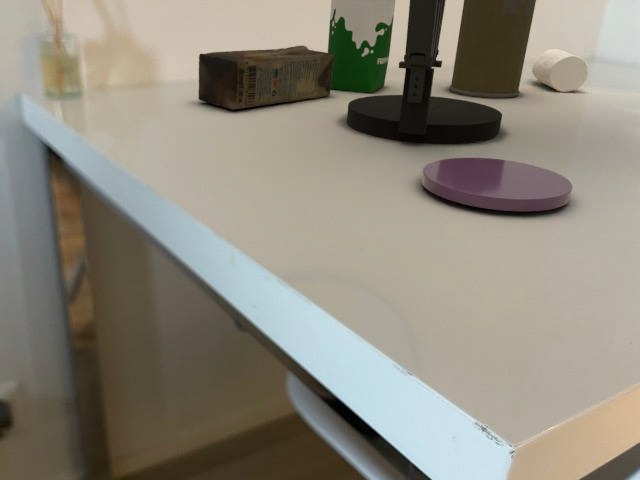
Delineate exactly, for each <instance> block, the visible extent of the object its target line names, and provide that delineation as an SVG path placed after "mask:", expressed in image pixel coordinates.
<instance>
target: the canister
mask: <svg viewBox="0 0 640 480" xmlns="http://www.w3.org/2000/svg"><path fill="white" fill-rule="evenodd" d="M536 2H537V0H463V5H462V12H461V19H460V26H459V31H458V39H457V45H456V51H455V57H454V65H453V72H452V77H451V85H449V87H448V89H449V91H450V92H452V93H454V94H458V95H463V96H467V97H477V98H488V99H510V98H514V97H518V96H519V95H520V94H521V93H520V90H519V89H520V84H521V79H522V74H523V69H524V64H525V59H526V53H527V48H528V44H529V38H530V35H531V34H530V33H531V28H532V23H533V18H534V13H535V8H536Z"/></svg>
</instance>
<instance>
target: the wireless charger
mask: <svg viewBox="0 0 640 480" xmlns="http://www.w3.org/2000/svg"><path fill="white" fill-rule="evenodd" d="M402 96H403V94H381V95H369V96H363V97H359V98H355V99H352V100H350V101H349V102H348V105H347V115H346V124H347V125H348V126H349V127H350V128H352V129H354V130H355V131H358V132H360V133H364V134H366V135H370V136H374V137H378V138H383V139H388V140H395V141H402V142H410V143H421V144H436V145H437V144H438V145H439V144H440V145H445V144H446V145H452V144H453V145H454V144H471V143H472V144H473V143H478V142H479V143H480V142H484V141H489V140H492V139H494V138H497V137H498V136H499V134H500V130H501V124H502V119H503V114H502V112H501V111H500V110H499V109H497V108H494V107H491V106H489V105H486V104H482V103H479V102H474V101H469V100H464V99H459V98H451V97H442V96H434V95H433V96H432V95H431V97H430V104H429V112H428V119H427V126H426V132H425V134H424V135H418V134H408V133H398V130H399V122H400V113H401V105H402Z"/></svg>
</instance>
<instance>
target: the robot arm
mask: <svg viewBox="0 0 640 480" xmlns="http://www.w3.org/2000/svg"><path fill="white" fill-rule="evenodd" d="M446 1H447V0H409V7H408V18H407V29H406V30H407V31H406V39H405V40H406V41H405V53H404V55H403V61H399V62H398V68H399V69H405V72H404V81H403V88H402V95H403V96H402V105H401V113H400V122H399V130H398V133H408V134H418V135H424V134H425V132H426V126H427V119H428V112H429V104H430V97H431V96H432V91H433V90H432V89H433V82H434V75H435V68H440V69H441V68H442V65H443V60H438V59H437V58H438V55H439V52H440V50H439V45H440V39H441V32H442V26H443V19H444V15H445V14H444V13H445V7H446Z"/></svg>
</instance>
